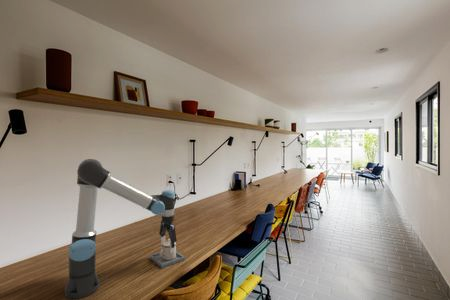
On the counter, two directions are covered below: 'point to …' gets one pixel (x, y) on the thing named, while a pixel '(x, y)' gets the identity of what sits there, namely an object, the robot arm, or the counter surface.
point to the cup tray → (165, 263)
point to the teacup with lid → (167, 251)
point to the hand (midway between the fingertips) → (167, 249)
